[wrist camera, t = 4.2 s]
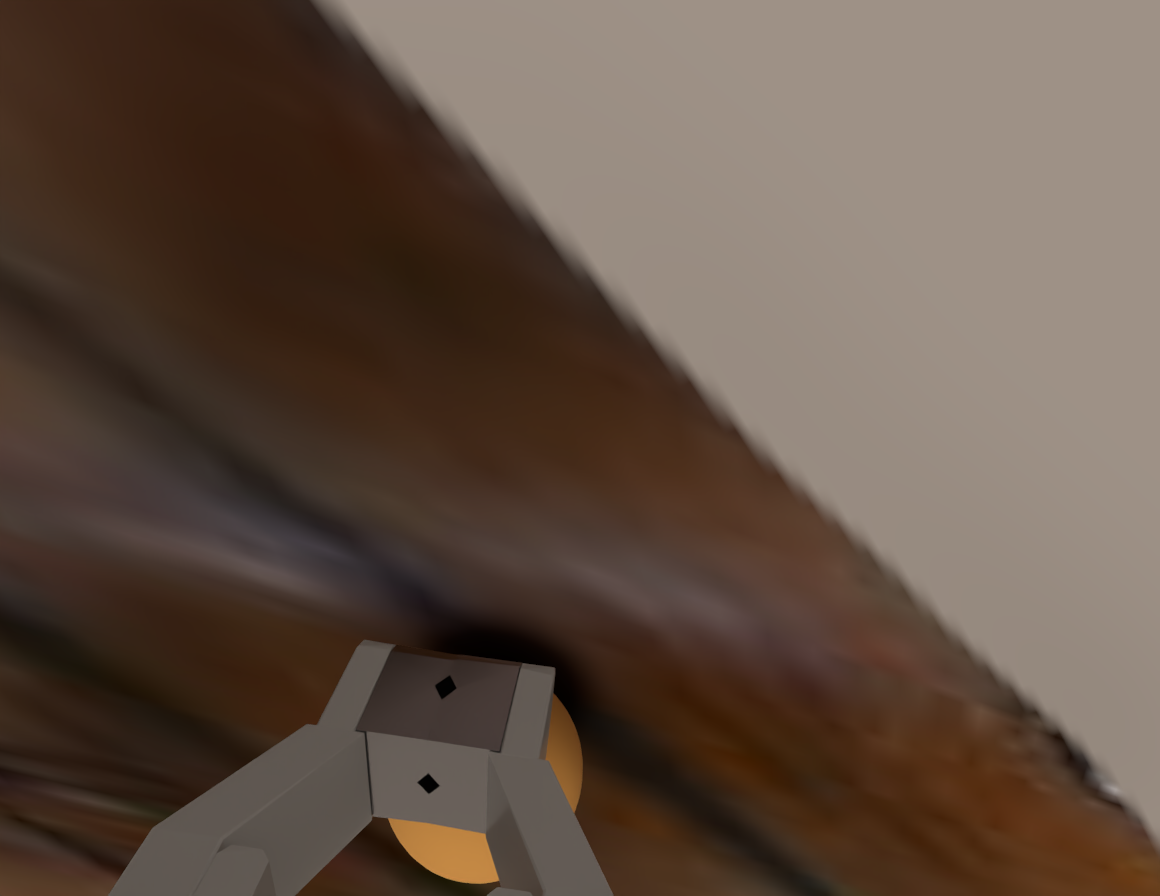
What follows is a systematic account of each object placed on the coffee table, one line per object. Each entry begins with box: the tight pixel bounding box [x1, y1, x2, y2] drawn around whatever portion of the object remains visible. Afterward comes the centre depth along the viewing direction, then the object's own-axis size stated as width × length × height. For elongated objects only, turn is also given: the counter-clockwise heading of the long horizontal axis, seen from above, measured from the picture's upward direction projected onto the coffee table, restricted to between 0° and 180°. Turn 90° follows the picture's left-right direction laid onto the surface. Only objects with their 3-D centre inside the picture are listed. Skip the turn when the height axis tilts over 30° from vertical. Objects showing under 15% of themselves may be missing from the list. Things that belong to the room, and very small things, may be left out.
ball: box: [388, 693, 583, 884], centre depth 22 cm, size 6×6×6 cm
